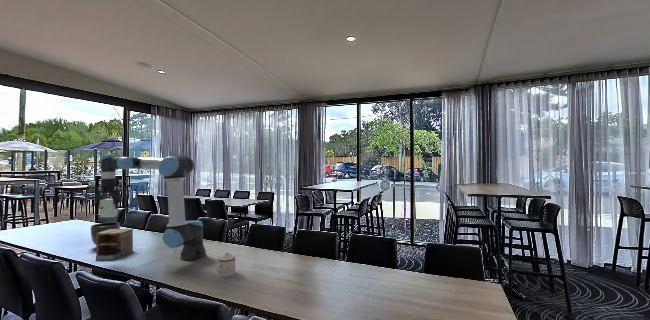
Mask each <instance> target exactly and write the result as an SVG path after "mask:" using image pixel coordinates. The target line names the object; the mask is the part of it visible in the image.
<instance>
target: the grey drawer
mask: <svg viewBox="0 0 650 320" xmlns="http://www.w3.org/2000/svg"><path fill="white" fill-rule="evenodd" d="M118 243H121V237H118ZM118 251H121V245H118ZM122 257H124V255H123V252H105V253H102V254H100V255H98V256H97V255H96V256H95V261H96V262H97V261H99V262H100V261H101V262H102V261H107V262H108V261H115V260H118V259H120V258H122Z"/></svg>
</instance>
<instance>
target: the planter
mask: <svg viewBox="0 0 650 320" xmlns="http://www.w3.org/2000/svg"><path fill="white" fill-rule="evenodd" d="M108 229H121V224H120V222H118V221H117V222H116V221H109V222H101V223H95V224H93V225H90V236H91V241H92V243H93V244H94V245H95V246H97V245H96V233H99V232H102V231H105V230H108Z"/></svg>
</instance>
